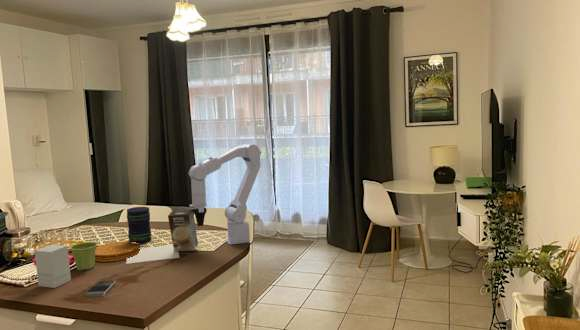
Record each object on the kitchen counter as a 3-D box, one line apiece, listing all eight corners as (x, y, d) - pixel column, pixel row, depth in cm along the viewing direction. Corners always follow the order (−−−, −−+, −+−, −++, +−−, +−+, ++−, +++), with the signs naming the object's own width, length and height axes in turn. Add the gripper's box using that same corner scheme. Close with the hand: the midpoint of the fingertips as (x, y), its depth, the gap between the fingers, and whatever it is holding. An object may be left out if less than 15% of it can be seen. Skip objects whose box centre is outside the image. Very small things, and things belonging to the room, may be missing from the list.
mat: (176, 245, 189) (176, 244, 189) (179, 257, 172) (179, 257, 172) (128, 250, 183) (128, 249, 183) (126, 264, 166) (125, 263, 166)
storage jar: (143, 236, 203) (140, 205, 201) (156, 240, 197) (154, 208, 196) (124, 242, 195) (121, 210, 193) (137, 245, 189) (134, 212, 188)
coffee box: (173, 251, 178) (166, 215, 174) (178, 245, 185) (172, 210, 181) (194, 250, 177) (188, 214, 173) (199, 243, 184) (193, 208, 180)
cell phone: (116, 284, 148) (116, 280, 147) (104, 297, 137) (104, 293, 136) (98, 284, 147) (98, 280, 147) (84, 298, 136) (84, 294, 136)
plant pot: (65, 270, 160) (63, 248, 159) (85, 262, 169) (83, 241, 168) (85, 273, 157) (83, 250, 156) (104, 264, 166) (102, 242, 165)
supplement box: (71, 280, 151) (68, 245, 149) (54, 288, 144) (50, 252, 142) (55, 278, 153) (52, 243, 152) (37, 286, 146) (33, 250, 145)
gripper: (187, 191, 186) (189, 222, 188) (190, 197, 172) (192, 230, 174) (204, 190, 188) (205, 220, 190) (208, 196, 174) (209, 229, 176)
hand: (200, 225), depth 182 cm, fingers closed
